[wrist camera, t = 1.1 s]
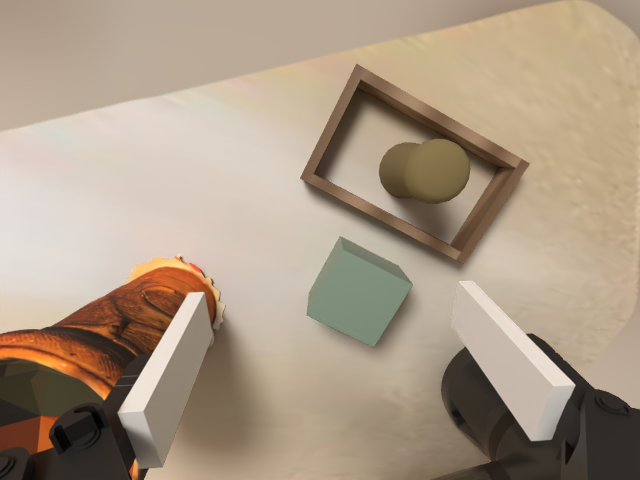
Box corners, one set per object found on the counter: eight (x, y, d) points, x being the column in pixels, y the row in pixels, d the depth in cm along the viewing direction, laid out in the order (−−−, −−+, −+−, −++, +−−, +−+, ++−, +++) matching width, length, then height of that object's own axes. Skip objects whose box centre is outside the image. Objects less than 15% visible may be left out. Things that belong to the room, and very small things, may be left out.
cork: (370, 156, 34) (392, 152, 23) (422, 132, 33) (468, 116, 23) (390, 206, 35) (420, 223, 25) (440, 184, 35) (493, 192, 24)
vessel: (256, 294, 38) (181, 432, 18) (199, 375, 41) (83, 567, 22) (153, 228, 36) (-48, 303, 17) (102, 317, 39) (-120, 468, 20)
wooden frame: (512, 163, 34) (529, 163, 31) (452, 256, 37) (463, 264, 34) (353, 73, 32) (356, 63, 29) (302, 177, 35) (299, 178, 32)
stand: (398, 266, 37) (413, 284, 31) (366, 320, 39) (373, 347, 33) (340, 236, 36) (343, 249, 30) (309, 292, 38) (306, 315, 32)
